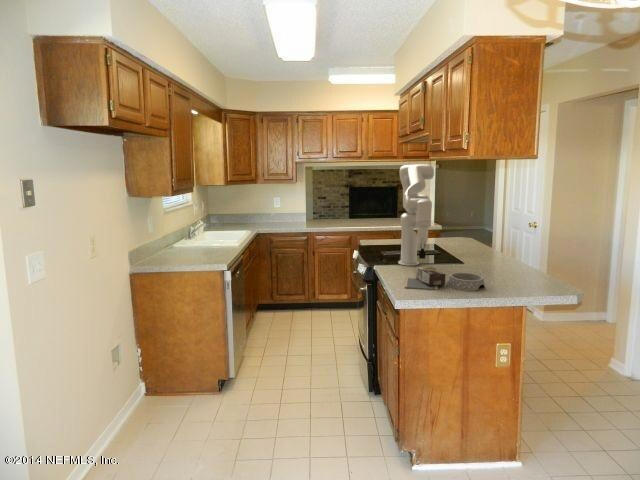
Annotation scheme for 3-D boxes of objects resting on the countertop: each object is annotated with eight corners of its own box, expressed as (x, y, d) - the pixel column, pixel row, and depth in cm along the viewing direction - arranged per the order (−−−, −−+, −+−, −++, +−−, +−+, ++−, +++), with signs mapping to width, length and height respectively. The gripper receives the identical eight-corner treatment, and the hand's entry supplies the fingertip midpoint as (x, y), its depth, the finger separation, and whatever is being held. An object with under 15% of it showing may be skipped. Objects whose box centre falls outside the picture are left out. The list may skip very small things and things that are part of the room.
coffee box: (415, 278, 243) (428, 286, 227) (415, 266, 242) (429, 274, 226) (431, 278, 245) (445, 286, 229) (431, 266, 243) (446, 273, 228)
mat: (406, 279, 245) (406, 277, 244) (436, 280, 241) (436, 279, 241) (404, 288, 227) (404, 287, 227) (437, 290, 224) (437, 289, 224)
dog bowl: (490, 286, 232) (491, 276, 231) (472, 293, 219) (473, 282, 218) (459, 279, 244) (460, 270, 243) (441, 286, 232) (441, 276, 231)
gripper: (416, 221, 245) (415, 255, 248) (415, 225, 230) (414, 261, 233) (430, 222, 243) (429, 255, 246) (431, 226, 229) (429, 261, 232)
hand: (422, 258), depth 240 cm, fingers closed
